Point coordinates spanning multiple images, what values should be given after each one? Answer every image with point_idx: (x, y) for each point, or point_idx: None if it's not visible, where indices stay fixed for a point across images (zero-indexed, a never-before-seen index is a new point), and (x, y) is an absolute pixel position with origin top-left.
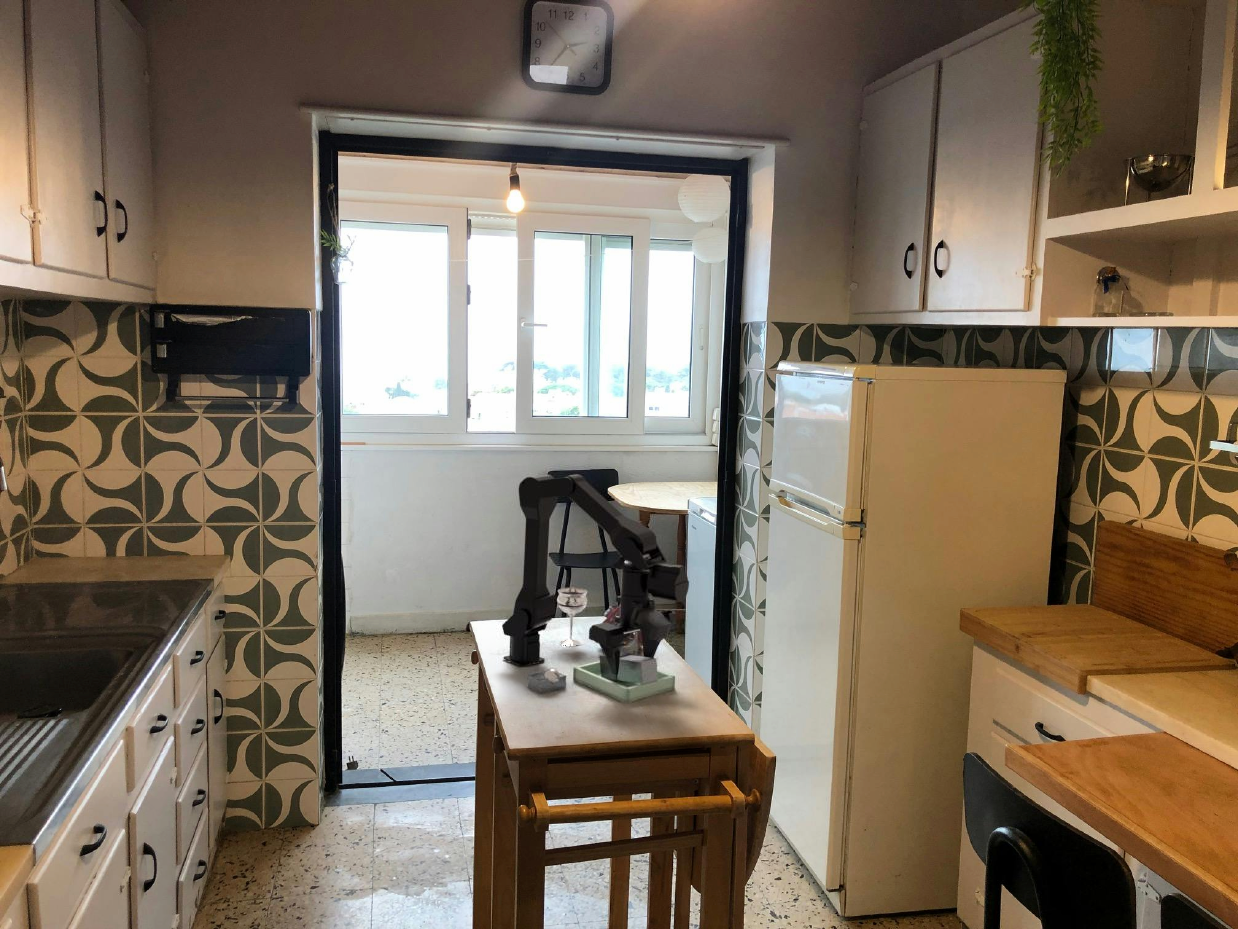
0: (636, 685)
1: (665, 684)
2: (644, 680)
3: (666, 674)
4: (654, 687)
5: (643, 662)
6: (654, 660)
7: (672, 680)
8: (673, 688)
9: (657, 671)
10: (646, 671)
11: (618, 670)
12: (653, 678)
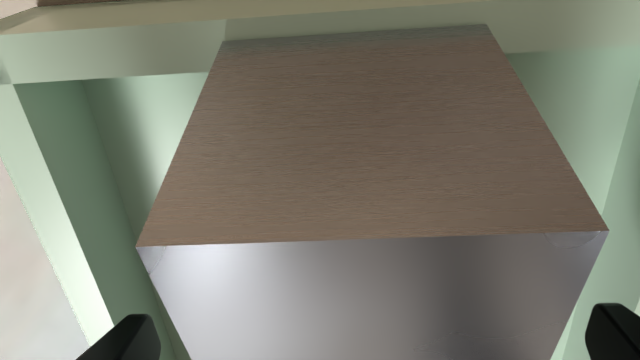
0: (573, 41)
1: (129, 14)
2: (465, 41)
3: (25, 138)
4: (298, 3)
5: (529, 222)
6: (200, 219)
7: (12, 25)
8: (44, 8)
9: (79, 242)
10: (431, 106)
11: (629, 335)
12: (291, 53)
